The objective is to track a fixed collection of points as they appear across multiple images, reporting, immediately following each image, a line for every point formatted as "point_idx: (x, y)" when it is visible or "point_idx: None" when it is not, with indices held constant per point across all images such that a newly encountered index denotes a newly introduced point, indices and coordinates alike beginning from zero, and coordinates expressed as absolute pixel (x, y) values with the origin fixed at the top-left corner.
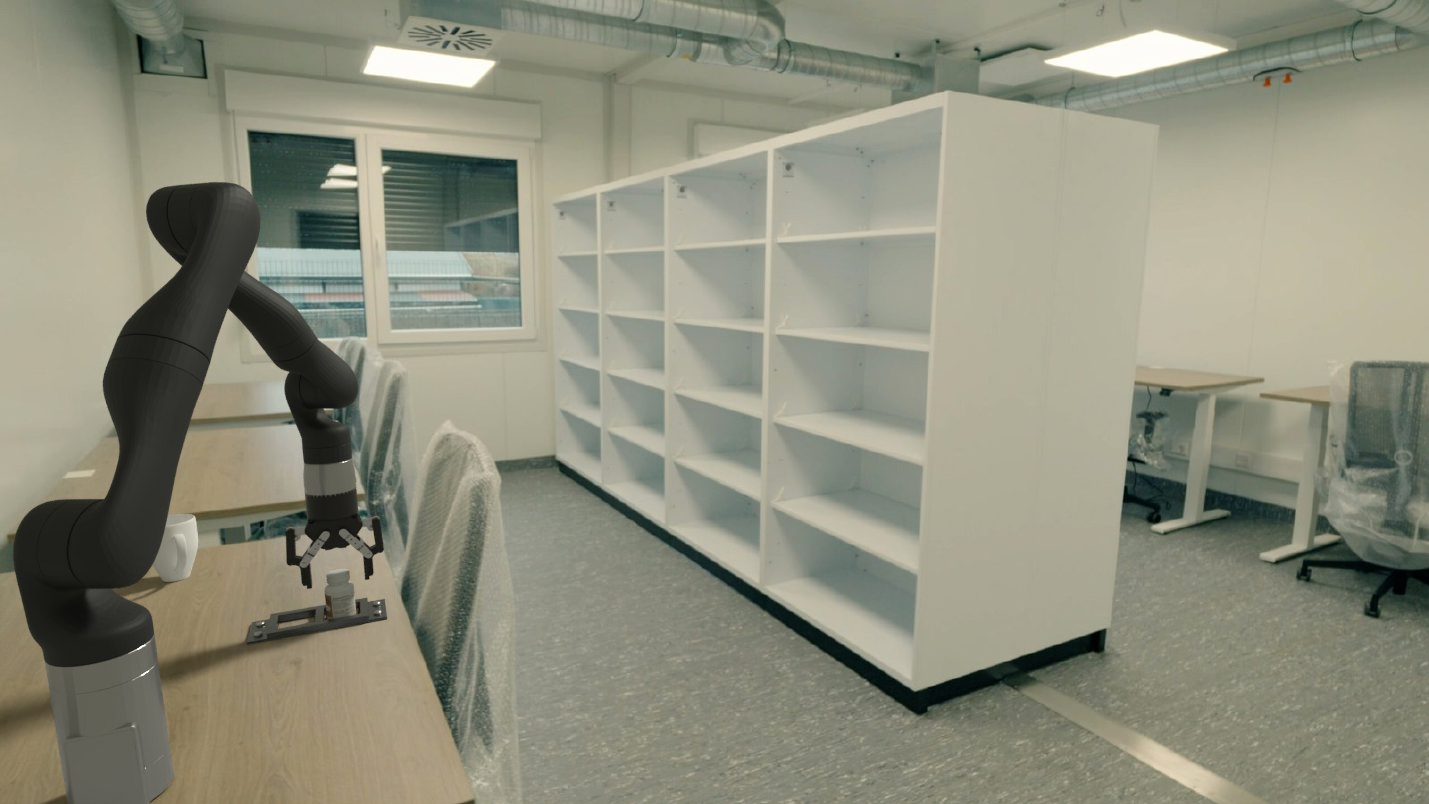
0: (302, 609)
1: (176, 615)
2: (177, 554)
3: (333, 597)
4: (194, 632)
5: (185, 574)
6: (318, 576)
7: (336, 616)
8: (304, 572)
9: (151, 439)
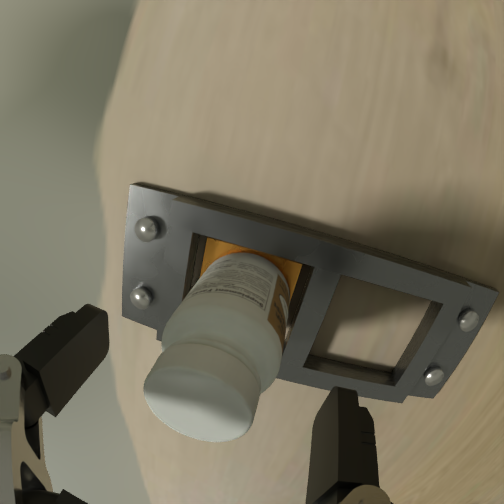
0: (333, 385)
1: (464, 469)
2: None
3: (259, 308)
4: (498, 409)
5: None
6: (238, 488)
7: (267, 266)
8: (360, 464)
9: None
